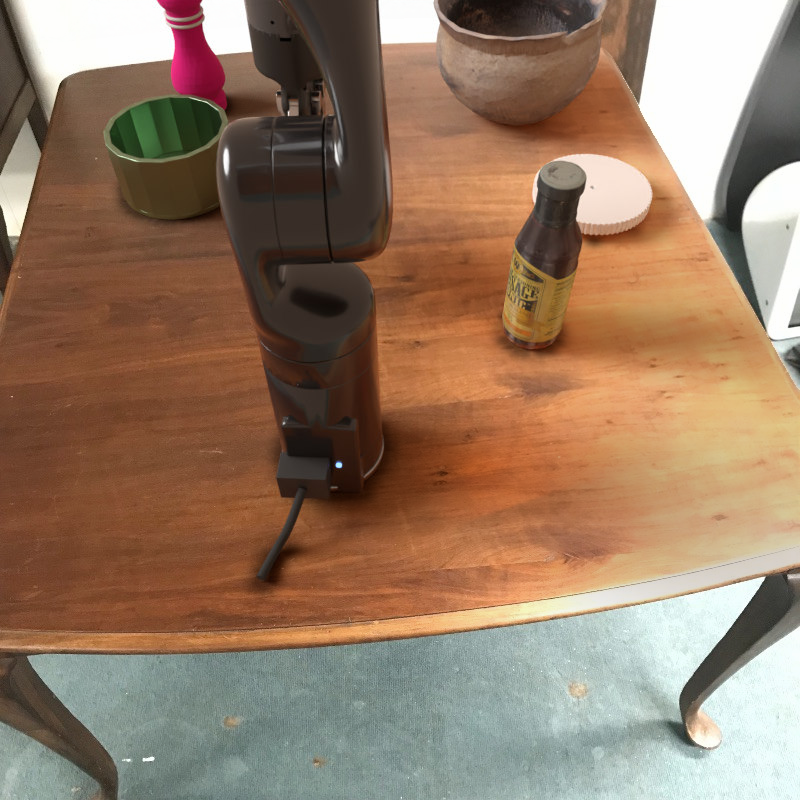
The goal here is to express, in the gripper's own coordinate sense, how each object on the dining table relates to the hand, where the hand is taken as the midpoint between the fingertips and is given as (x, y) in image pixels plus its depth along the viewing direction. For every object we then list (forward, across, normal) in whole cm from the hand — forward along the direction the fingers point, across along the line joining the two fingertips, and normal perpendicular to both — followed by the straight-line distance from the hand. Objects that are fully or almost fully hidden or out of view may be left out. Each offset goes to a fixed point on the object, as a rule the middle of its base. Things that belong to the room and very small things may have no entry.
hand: (312, 183), depth 78 cm
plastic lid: (+12, -14, +31) cm, 36 cm away
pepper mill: (+12, -34, -21) cm, 42 cm away
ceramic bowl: (+12, -36, +22) cm, 44 cm away
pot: (+12, -16, -20) cm, 28 cm away
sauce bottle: (+12, +8, +23) cm, 27 cm away
